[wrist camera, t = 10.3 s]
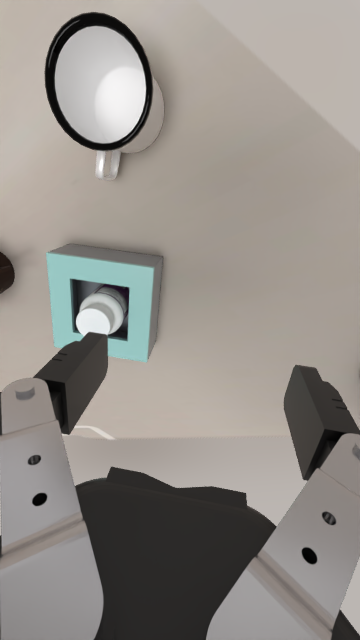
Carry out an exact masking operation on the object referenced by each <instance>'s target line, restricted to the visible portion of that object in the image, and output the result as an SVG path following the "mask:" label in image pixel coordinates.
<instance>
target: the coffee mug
mask: <svg viewBox="0 0 360 640" xmlns="http://www.w3.org/2000/svg"><path fill="white" fill-rule="evenodd" d="M14 278H15V273H14V269H13V266H12V264H11V262H10V261H9V259H8V258H7V257H6V256H5V255H4V254H3V253H1V252H0V294H1V293H2V292H3V291H5V290H6V289H8V288H9V287H10V286H11V285H12V284H13V282H14Z"/></svg>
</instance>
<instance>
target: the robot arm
mask: <svg viewBox="0 0 360 640" xmlns="http://www.w3.org/2000/svg"><path fill="white" fill-rule="evenodd" d="M107 368H108V337H107V335H106V334H101V333H95V332H88V333H87V334H86V335H85V336H84V337H83V338H82V339H81V340H80V341H74V342H72V343H69V344H67V345H65V346H64V347H63V348H62V349H61V350H60V351H59V352H58V354H56V355H55V356H54V357H53V358H52V360H50V361H49V362H48V363H47V364H46V365H45V366H44V367H43V368H42V369H41V370H40V371H39V372H38V373H37V374H36V375H35V376H34V377H33V378H25V379H20V380H17V381H15V382H12V383H11V384H9V385H8V386H6V387H5V388H4V389H3V391H2V392H0V487H1V491H0V492H1V536H0V640H360V635H359V634H358V633H357V631H356V630H355V629H354V627H353V626H352V625H351V624H350V622H349V621H348V620H347V618H346V617H345V615H344V614H343V613H342V611H341V610H340V607H341V604H342V602H343V599H344V596H345V594H346V591H347V589H348V586H349V583H350V580H351V578H352V575H353V573H354V570H355V567H356V565H357V562H358V559H359V557H360V430H359V428H358V427H357V425H356V423H355V421H354V419H353V418H352V416H351V414H350V412H349V410H347V407H346V405H345V403H344V402H343V400H342V398H341V396H340V394H339V393H338V391H337V390H336V389H335V388H334V387H333V386H332V385H331V384H329V383H328V382H324V381H322V379H321V377H320V375H319V373H318V371H317V369H316V368H313V367H307V366H301V365H295V367H294V369H293V371H292V374H291V378H290V381H289V384H288V387H287V390H286V393H285V397H284V411H285V414H286V418H287V422H288V425H289V429H290V433H291V437H292V440H293V444H294V447H295V451H296V455H297V458H298V462H299V466H300V470H301V473H302V477H303V479H304V480H307V481H308V482H307V483H306V485H305V486H304V488H303V489H302V491H301V492H300V494H299V495H298V497H297V498H296V499H295V501H294V502H293V504H292V505H291V507H290V508H289V510H288V511H287V513H286V514H285V516H284V517H283V519H282V520H281V522H280V523H279V524H278V526H277V527H276V526H275V525H274V524H273V523H272V522H271V521H270V520H269V519H267V518H266V517H265V516H264V515H262V514H261V513H260V512H258V511H256V510H255V509H253V508H251V507H249V506H247V500H246V493H243V492H238V491H233V490H228V489H222V488H217V487H212V486H211V487H192V488H175V487H172V486H170V485H168V484H166V483H164V482H161V481H159V480H157V479H155V478H153V477H150V476H148V475H147V474H144V473H141V472H136V471H130V470H125V469H120V468H115V467H111V468H110V471H109V473H108V476H107V478H99V479H94V480H90V481H87V482H84V483H81V484H79V485H76V486H75V485H74V482H73V477H72V474H71V469H70V465H69V461H68V458H67V453H66V450H65V445H64V441H63V438H62V433H63V434H68V435H69V434H70V433H71V431H72V430H73V428H74V426H75V425H76V423H77V422H78V420H79V418H80V417H81V415H82V414H83V412H84V410H85V409H86V407H87V406H88V404H89V402H90V401H91V399H92V398H93V396H94V394H95V393H96V391H97V389H98V388H99V386H100V385H101V383H102V381H103V380H104V378H105V376H106V373H107Z"/></svg>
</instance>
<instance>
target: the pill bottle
mask: <svg viewBox="0 0 360 640" xmlns="http://www.w3.org/2000/svg"><path fill="white" fill-rule="evenodd" d="M129 290H130V287H124V286H118V285H111V284H104V283H102V284H101V285H100V286H99V287H98V288H97V289H96V290H95V291H94V292H92V293H91V294H90V295H89V296H88V297H87V298H86V299H85V300H84V301H83V302H82V304H81V306H80V311H79V314H78V316H77V318H76V325H77V328H78V330H79V332H80V333H81V334H82V335H83V336H85V335H86V334H87V333H88V332H95V333H101V334H106V335H108V334H111V333H113V332H115V331H116V330H117V329H118V328H119V327H120V326H121V325H122V323H123V321H124V320H125V318H126V316H127V315H128V313H129Z"/></svg>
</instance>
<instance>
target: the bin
mask: <svg viewBox="0 0 360 640" xmlns="http://www.w3.org/2000/svg"><path fill="white" fill-rule="evenodd" d="M46 256H47V268H48V279H49V290H50V302H51V313H52V325H53V336H54V347H58V348H63V347H64V346H65V345H67V344H69V343H72V342H74V341H80V340H81V339H82V338H83V337H84V336H83V335H82V334H81V333H80V332H79V330H78V328H77V325H76V318H77V316H78V314H79V311H80V306H81V304H82V302H83V301H84V300H85V299H86V298H87V297H88V296H89V295H90V294H91V293H92V292H94V291H95V290H96V289H97V288H98V287H99V286H100V285H101V284H102V283H104V284H111V285H118V286H124V287H130V290H129V313H128V315H127V316H126V318H125V320H124V321H123V323H122V325H121V326H120V327H119V328H118V329H117V330H116V331H115V332H113V333H111V334H108V335H107V337H108V356H112V357H118V358H124V359H130V360H136V361H142V362H147V361H148V359H149V356H150V354H151V352H152V349H153V347H154V345H155V342H156V335H157V323H158V311H159V300H160V288H161V276H162V264H163V257H161V256H154V255H147V254H140V253H133V252H126V251H119V250H111V249H104V248H97V247H90V246H83V245H76V244H68V245H65V246H63V247H60V248H57V249H55V250H52V251H50V252H47V253H46Z"/></svg>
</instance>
